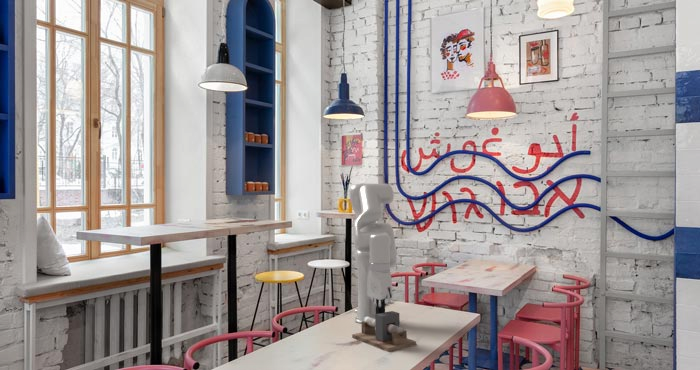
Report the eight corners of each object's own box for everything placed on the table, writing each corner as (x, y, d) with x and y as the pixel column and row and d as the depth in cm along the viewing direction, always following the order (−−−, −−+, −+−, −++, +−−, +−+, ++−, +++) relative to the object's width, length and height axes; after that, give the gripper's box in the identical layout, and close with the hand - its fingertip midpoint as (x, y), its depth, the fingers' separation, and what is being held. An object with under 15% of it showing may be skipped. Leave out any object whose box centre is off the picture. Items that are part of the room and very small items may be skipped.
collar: (375, 339, 180) (375, 314, 180) (392, 335, 185) (392, 311, 185) (382, 341, 177) (382, 316, 177) (399, 337, 182) (399, 313, 182)
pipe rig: (352, 337, 188) (352, 318, 188) (379, 331, 195) (379, 313, 195) (388, 351, 171) (387, 330, 171) (416, 344, 178) (415, 324, 178)
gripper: (359, 266, 189) (360, 314, 188) (384, 270, 176) (385, 322, 176) (375, 264, 193) (375, 312, 192) (400, 268, 181) (401, 319, 180)
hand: (380, 317), depth 184 cm, fingers closed
